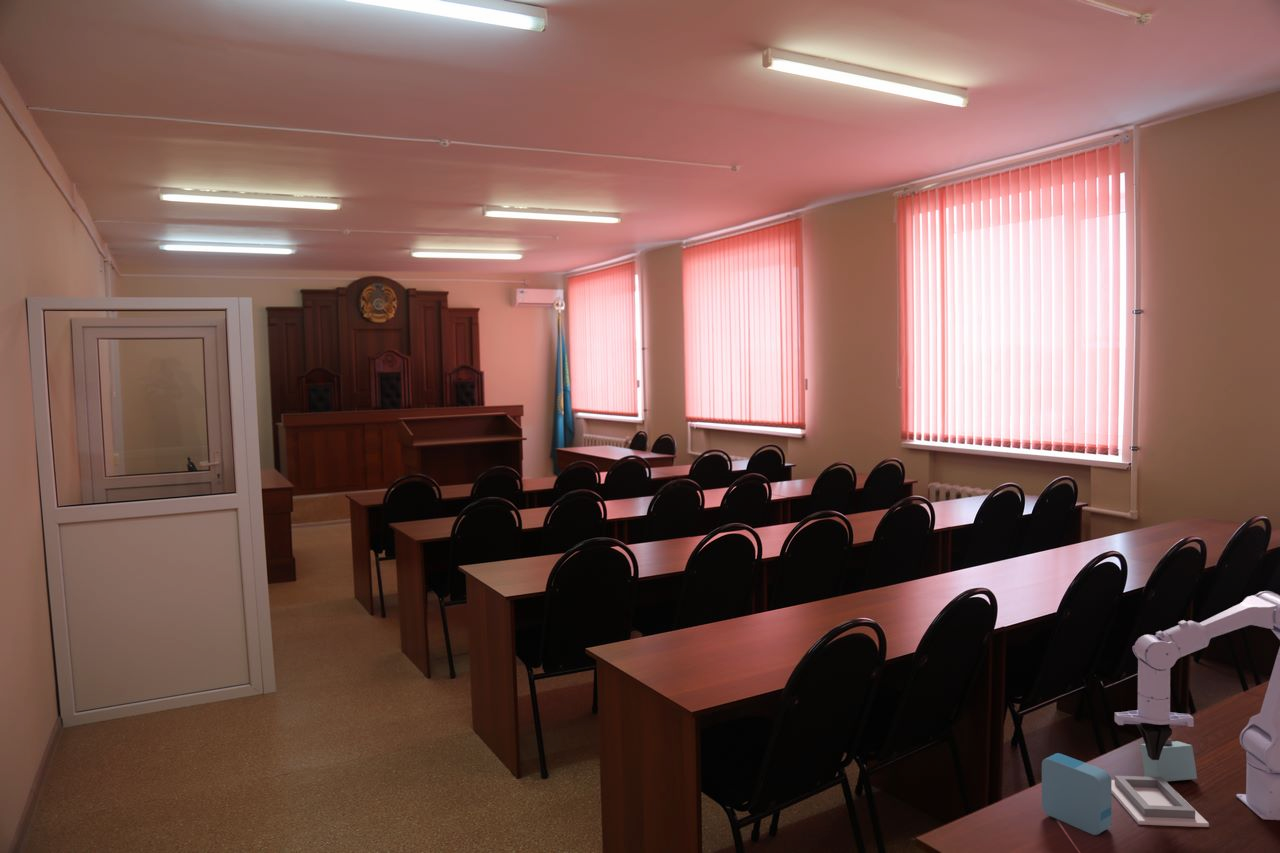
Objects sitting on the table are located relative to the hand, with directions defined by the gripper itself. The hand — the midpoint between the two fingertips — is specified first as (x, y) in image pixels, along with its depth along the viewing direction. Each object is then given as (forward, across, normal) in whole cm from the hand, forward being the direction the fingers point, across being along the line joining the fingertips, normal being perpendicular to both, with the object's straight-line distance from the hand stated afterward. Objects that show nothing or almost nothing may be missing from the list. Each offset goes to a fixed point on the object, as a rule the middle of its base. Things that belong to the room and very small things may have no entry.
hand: (1153, 758), depth 173 cm
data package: (+10, +18, +8) cm, 23 cm away
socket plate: (+10, 0, 0) cm, 10 cm away
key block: (+10, -9, -11) cm, 17 cm away
